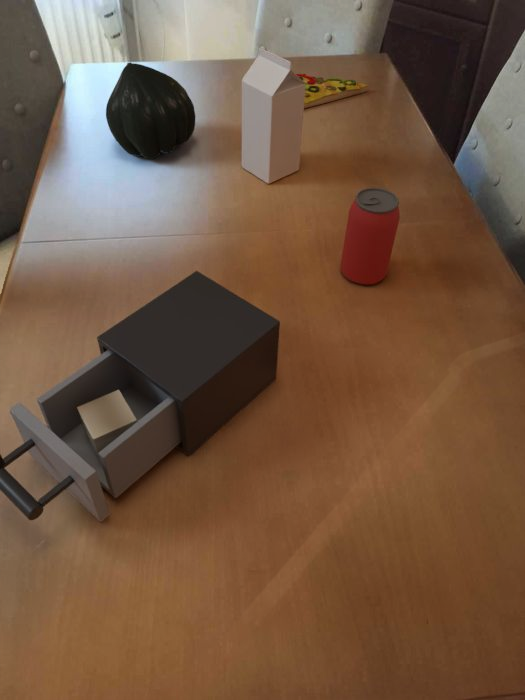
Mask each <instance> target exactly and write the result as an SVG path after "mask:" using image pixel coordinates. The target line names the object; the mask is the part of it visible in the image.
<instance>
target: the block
mask: <svg viewBox="0 0 525 700" xmlns="http://www.w3.org/2000/svg"><path fill="white" fill-rule="evenodd" d="M77 410H78V413H79V416H80V419H81V422H82V425H83V428H84V431H85V434H86V436H87V438H88V440H89V442H90V444H91V446H92V448H93V450H94V452H95V454H96V456H97V458H98V460H99V462H100V464H101V461H100V458H99V454H98V453H99V452H100V451H101V450H103V449H104V448H105V447H106V446H108V445H109V444H110V443H111V442H113V441H114V440H115V439H116V438H118V437H119V436H120V435H121V434H123V433H124V432H125V431H126V430H128V429H129V428H130V427H131V426H133V425H134V424H135V423H136V422H137V419H136V417H135V416H134V414H133V412H132V411H131V409H130V407H129V406H128V404H127V402H126V400H125V399H124V397H123V395H122V394H121V392H120V390H117V391H114V392H112V393H110V394H107V395H105V396H102V397H100V398H98V399H95V400H93V401H91V402H88V403H86V404H83V405H81V406H79V407H77ZM101 465H102V464H101Z"/></svg>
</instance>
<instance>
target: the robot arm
mask: <svg viewBox="0 0 525 700" xmlns="http://www.w3.org/2000/svg"><path fill="white" fill-rule="evenodd" d="M3 458H4V457H3V456H2V455H1V453H0V469H1V468H2V467H3V466H4V464H5V462H4V460H3Z"/></svg>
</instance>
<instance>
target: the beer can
mask: <svg viewBox="0 0 525 700" xmlns="http://www.w3.org/2000/svg"><path fill="white" fill-rule="evenodd" d="M399 204H400V200H399V198H398V196H397V195H396V194H395V193H394V192H392V191H390V190H388V189H386V188H381V187H367V188H363V189H361V190H359V191H358V192H357V193H356V195H355V197H354V200H353V201H352V203H351V205H350V208H349V210H348V215H347V223H346V228H345V234H344V241H343V245H342V246H343V247H342V253H341V260H340V271H341V274H343V276H344V277H345V278H346V279H347V280H349V281H350V282H353V283H355V284H359V285H366V286H367V285H368V286H369V285H374V284H377V283H379V282H381V281H383V279H384V278H386V276H387V274H388V269H389V266H390V261H391V256H392V252H393V248H394V244H395V240H396V235H397V232H398V226H399V222H400V219H401V217H400V215H401V213H400V208H399Z"/></svg>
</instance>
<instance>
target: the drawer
mask: <svg viewBox="0 0 525 700" xmlns="http://www.w3.org/2000/svg"><path fill="white" fill-rule="evenodd" d="M117 390H120V392H121V394H122V395H123V397H124V399H125V400H126V402H127V404H128V406H129V407H130V409H131V411H132V412H133V414H134V416H135V417H136V419H137V422H136V423H135V424H134V425H133V426H131V427H130V428H129V429H128V430H126V431H125V432H124V433H123V434H121V435H120V436H119V437H118V438H116V439H115V440H114V441H113V442H111V443H110V444H109V445H108V446H106V447H105V448H104V449H103V450H101V451H100V452H99V453H98V454H99V458H100V461H101V464H102V465H101V464H100V462H99V460H98V458H97V456H96V454H95V452H94V450H93V448H92V446H91V444H90V442H89V440H88V438H87V436H86V434H85V431H84V428H83V425H82V422H81V419H80V416H79V413H78V410H77V407H79V406H81V405H83V404H86V403H88V402H91V401H93V400H95V399H98V398H100V397H102V396H105V395H107V394H110V393H112V392H114V391H117ZM36 401H37V403H38V406H39V409H40V411H41V414H42V416H43V419H44V422H45V423H44V422H43V421H41V420H40V419H39V418H38V417H37V416H36V415H35V414H34V413H33V412H32V411H31V410H29V409H28V408H27V407H26V406H25V405H24V404H22V402H20V401H19V402H18V403H16V404H15V405H13V406H11V407H10V408H9V409H8V411H9V413H10V415H11V417H12V420H13V421H14V423H15V425H16V428H17V430H18V432H19V435H20V437H21V439H22V441H23V443H22V444H21V445H20V446H18V447H16V448H15V449H14V450H12V451H11V452H10V453H8V454H7V455H6V456H5V457H2V458H3V460H4V462H5V464H4V466H3V467H2V468H1V469H0V492H1V493H3V495H4V496H6V498H7V499H8V500H10V502H11V503H12V504H13V505H14V506H15V507H16V508H17V510H19V511H20V512H21V513H22V514H23V515H24V516H25V517H26V518H27V519H28V521H35V520H36V519H38V518H39V517H40V516H41V515H42V514H43V512H44V507H46V506H47V505H48V504H49V503H50V502H52V501H53V500H54V499H55V498H57V497H58V496H59V495H60V494H62V493H63V492H64V491H65V490H66V491H67V492H68V493H69V494H70V495H71V496H72V497H73V498H75V500H76V501H78V502H79V503H80V504H81V505H82V506H83V507H84V508H85V509H86V510H87V511H88V512H89V513H90V514H91V515H92V516H93V517H94V518H96V520H97V521H99V523H101V522H103V521H105V519H106V518H107V517H108V516H110V514H111V511H110V510H109V506H108V503H107V499H106V497H105V494H104V491H103V489H105V491H107V492H108V493H109V494H110V495H111V496H112V497H113V498H114V499H117V498H118V497H119V496H121V495H122V494H123V493H124V492H126V490H128V488H130V487H131V486H132V485H133V484H135V482H137V481H138V480H140V478H142V477H143V476H144V475H145V474H146V473H147V472H148V471H150V470H151V469H152V468H153V467H154V466H155V465H156V464H157V463H159V462H160V461H161V460H162V459H163V458H164V457H166V456H167V455H168V454H169V453H170V452H172V451H173V450H174V449H175V448H177V447H176V446H177V445H178V444H179V443H180V442H182V438H181V429H180V421H179V413H178V405H177V402H176V401H175V400H174V399H172V398H171V397H170V396H168V395H167V394H166V393H164V392H163V391H162V390H160V389H159V388H158V387H156V386H155V385H154V384H152V383H151V382H150V381H148V380H147V379H146V378H144V377H143V376H142V375H141V374H139V373H138V372H137V371H135V370H134V369H133V368H131V367H130V366H129V365H127V364H126V363H125V362H123V361H122V360H121V359H119V358H118V357H117V356H115V355H114V354H113V353H111V352H110V351H109V350H107V351H106V352H104V353H103V354H101V353H100V355H98V356H97V357H96V358H94V359H92V360H91V361H89V362H88V363H87V364H85V365H84V366H82V367H81V368H80V369H78V370H76V371H75V372H73V373H72V374H71V375H69V376H68V377H66V378H65V379H64V380H62V381H61V382H59V383H57V384H56V385H55V386H53V387H52V388H50V389H49V390H47V391H46V392H44V393H43V394H42V395H40V396H39V397H37V398H36ZM27 452H28V454H29V456H31V458H32V459H33V460H34V461H36V462H37V463H38V464H39V465H40V466H41V467H42V468H43V469H44V470H45V471H46V472H47V473H48V474H49V475H50V476H51V477H52V478H53V479H55V481H56V482H58V483H57V485H55V486H54V487H53V488H51V489H50V490H48V492H46V493H45V494H44V495H43V496H41V497H40V498H39V499H38V500H37V499H36V498H35V497H34V496H33V495H32V494H31V492H29V491H28V490H27V489H26V488H25V487H24V486H23V485H22V484H21V483H20V482H19V481H18V480H17V479H16V478H15V477H14V476H13V475H12V474H11V473H10V472H9V471H8V470H7V469H6V467H8V466H10V465H11V464H12V463H13V462H15V461H16V460H18V459H19V458H21V456H23V455H25V454H26V453H27Z"/></svg>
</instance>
